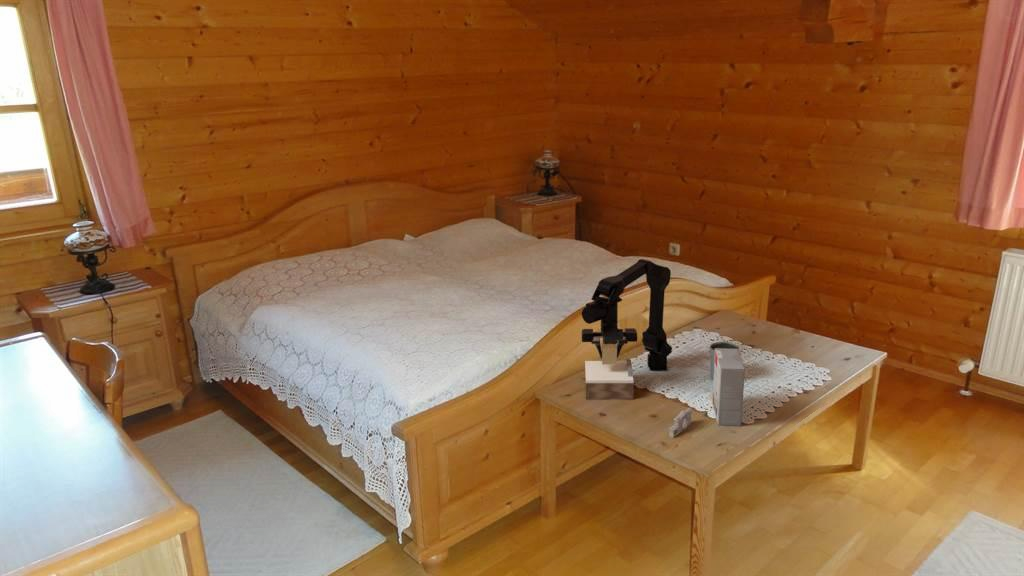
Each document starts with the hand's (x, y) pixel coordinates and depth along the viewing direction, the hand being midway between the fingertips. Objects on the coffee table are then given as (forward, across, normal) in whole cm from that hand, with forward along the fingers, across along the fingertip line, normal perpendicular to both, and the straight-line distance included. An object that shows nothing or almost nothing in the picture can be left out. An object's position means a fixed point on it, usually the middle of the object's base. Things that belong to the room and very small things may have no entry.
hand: (609, 358), depth 246 cm
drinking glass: (+12, +41, +9) cm, 44 cm away
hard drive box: (+12, +37, -18) cm, 43 cm away
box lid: (+6, 0, 0) cm, 6 cm away
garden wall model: (+12, +21, -28) cm, 37 cm away
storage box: (+12, 0, 0) cm, 12 cm away
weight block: (+1, 0, 0) cm, 1 cm away
